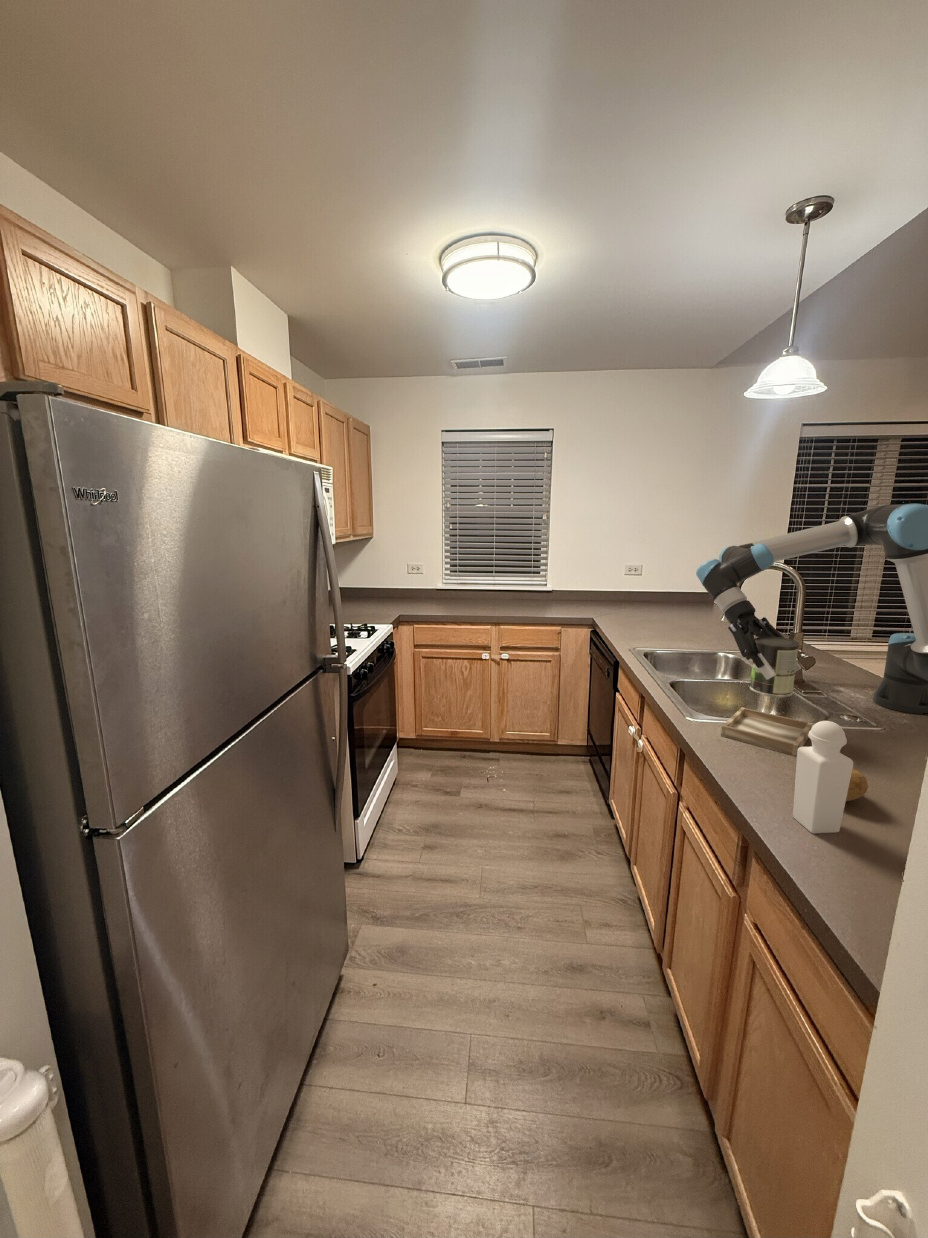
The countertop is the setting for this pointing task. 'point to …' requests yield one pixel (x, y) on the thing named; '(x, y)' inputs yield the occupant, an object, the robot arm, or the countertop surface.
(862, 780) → the potato
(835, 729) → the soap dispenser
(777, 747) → the tray
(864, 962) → the countertop surface
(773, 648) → the coffee can
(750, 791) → the countertop surface
